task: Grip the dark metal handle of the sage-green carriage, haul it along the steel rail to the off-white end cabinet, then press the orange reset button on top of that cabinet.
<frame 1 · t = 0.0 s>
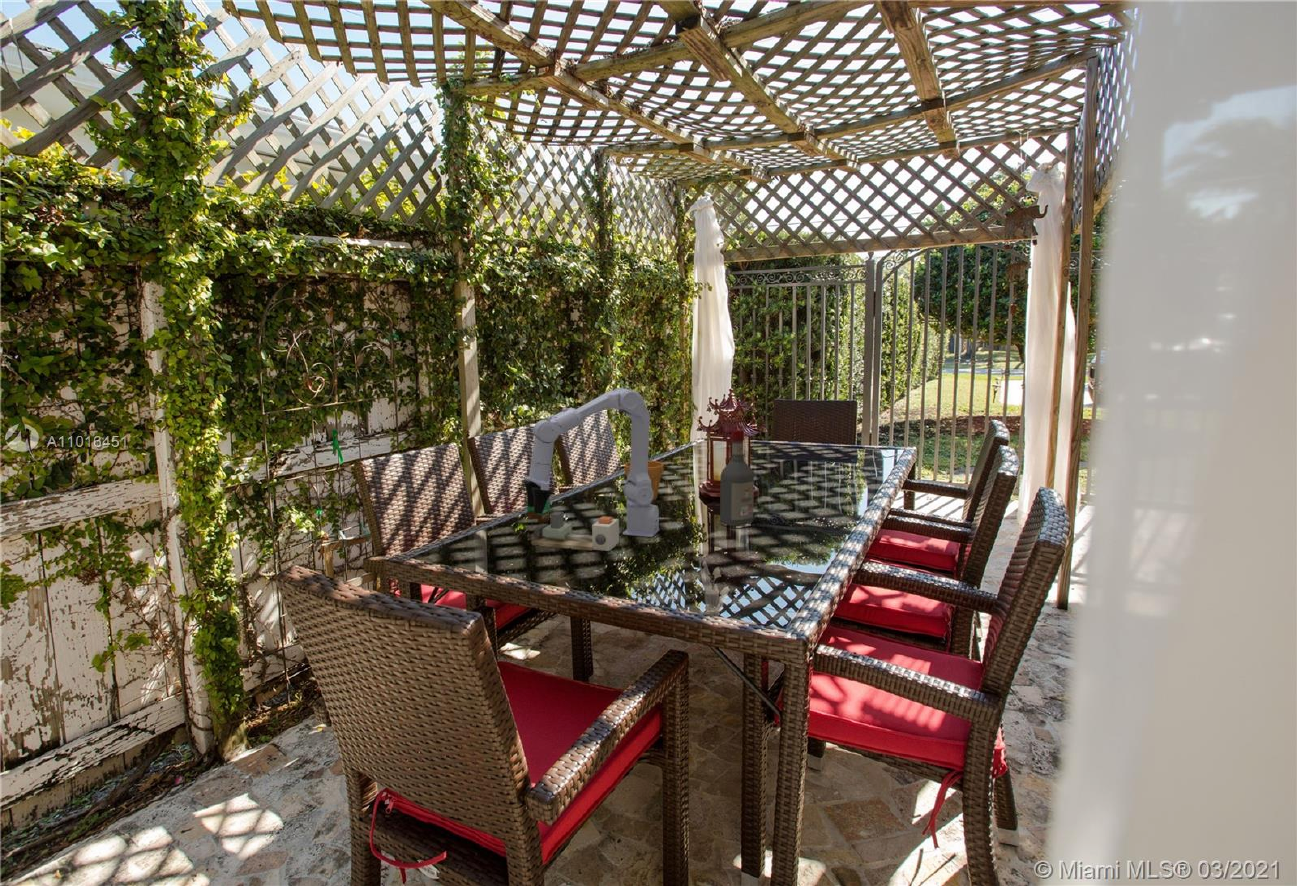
hand: (534, 510, 189), 11 cm above the table, tool pointing down, fingers open, 7 cm apart
rail bed: (576, 543, 193), on the table
reset button: (605, 521, 189), point 7 cm above the table, slide at 0.0 cm
end cabinet: (606, 545, 190), on the table
food container: (542, 521, 217), on the table
flower pot: (644, 499, 245), on the table
liquor: (736, 524, 211), on the table
carriage: (557, 524, 194), point 5 cm above the table, slide at 9.0 cm
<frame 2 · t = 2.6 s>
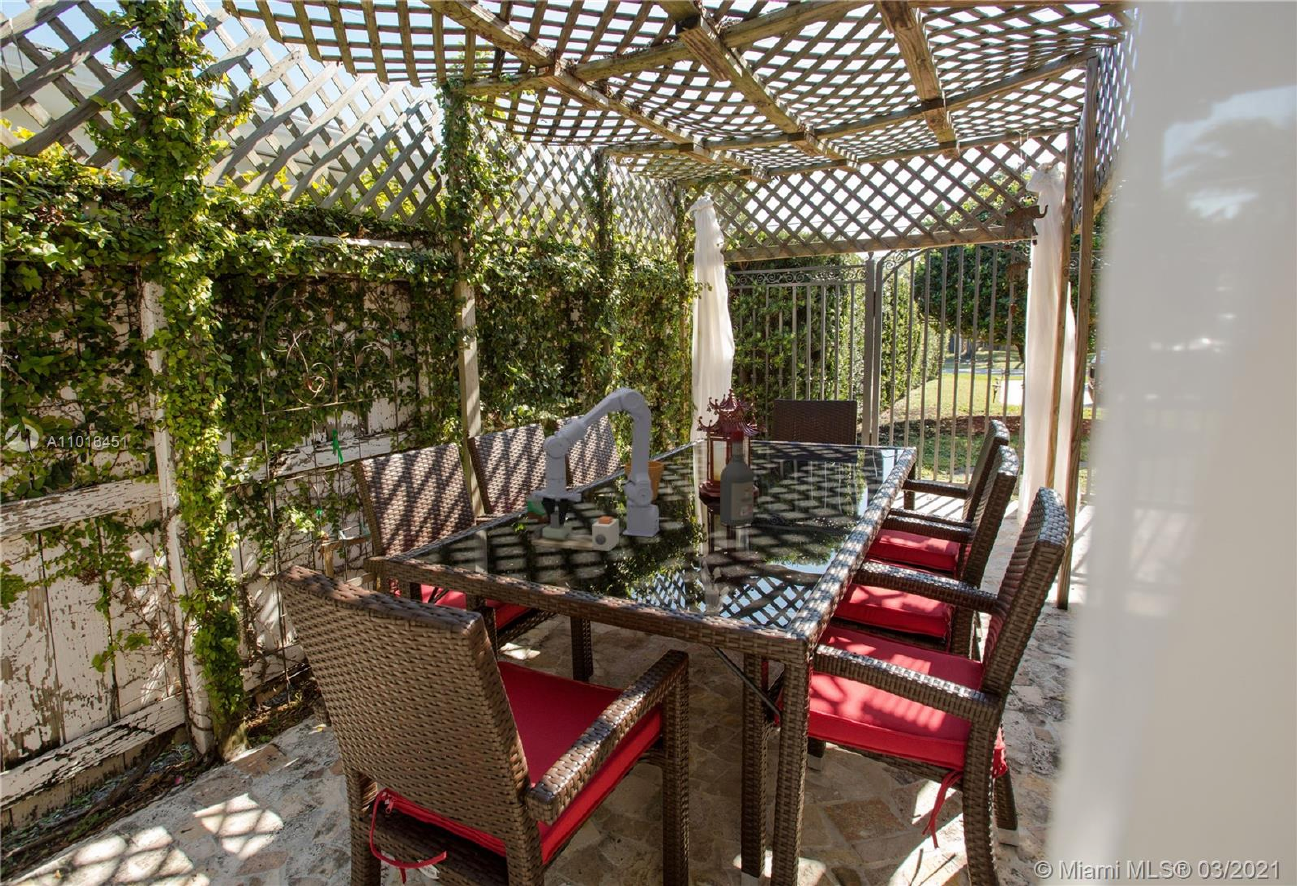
hand: (557, 523, 194), 5 cm above the table, tool pointing down, fingers closed on carriage, 2 cm apart
carriage: (557, 524, 194), point 5 cm above the table, slide at 9.0 cm, touching gripper
everything else where it was.
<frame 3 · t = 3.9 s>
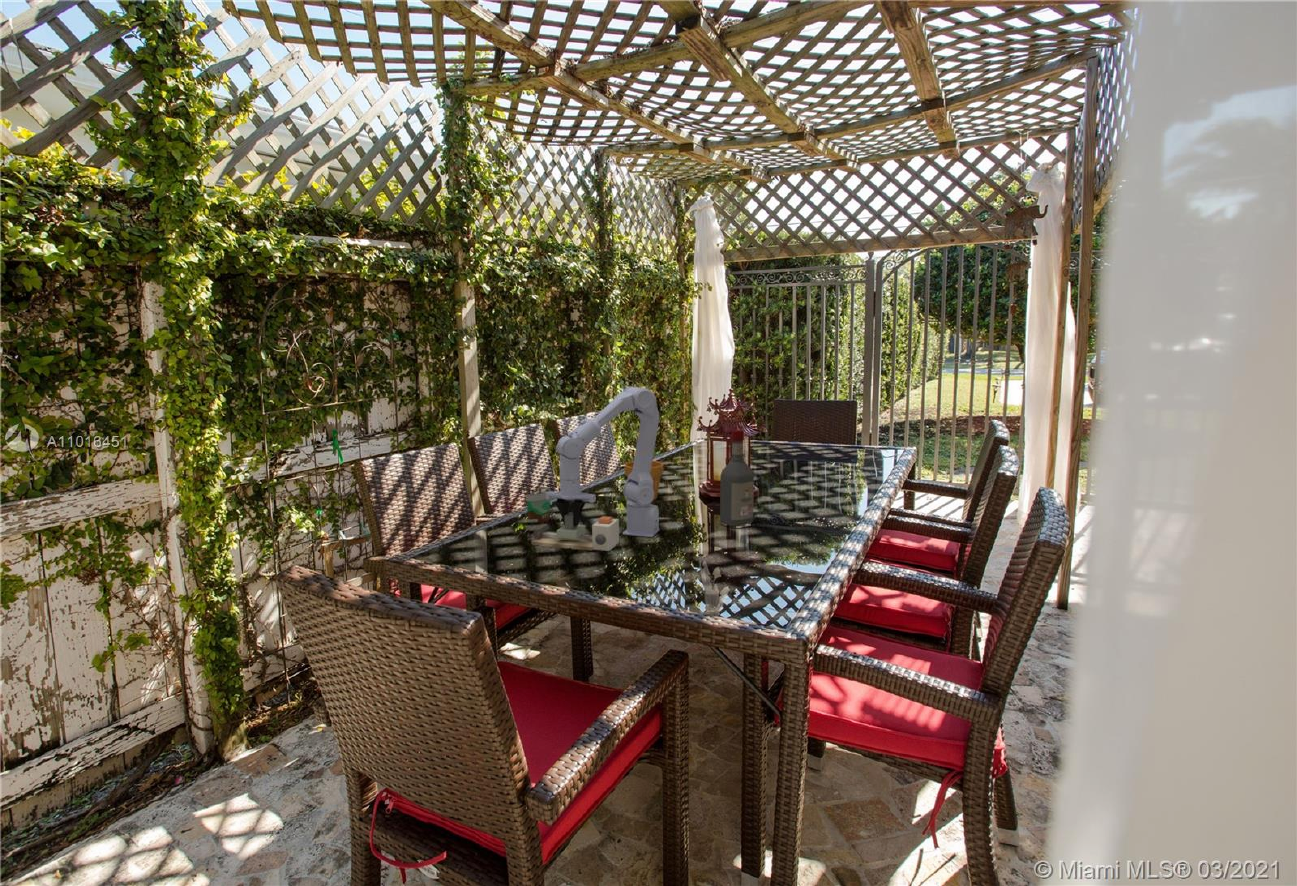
hand: (571, 524, 192), 5 cm above the table, tool pointing down, fingers closed on carriage, 2 cm apart
carriage: (571, 526, 192), point 5 cm above the table, slide at 4.6 cm, touching gripper
everything else where it was.
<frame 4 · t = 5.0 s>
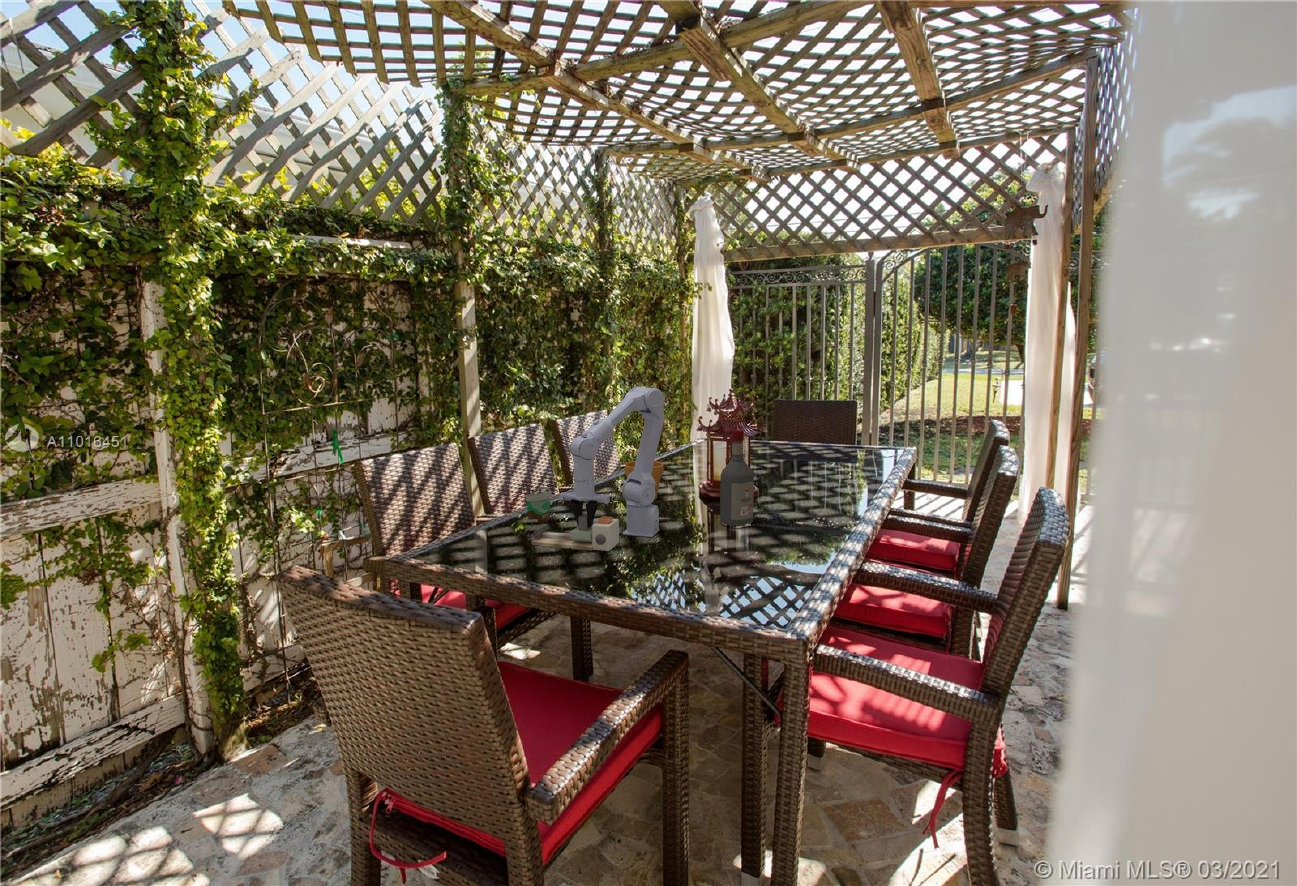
hand: (585, 525, 191), 5 cm above the table, tool pointing down, fingers closed on carriage, 2 cm apart
carriage: (585, 527, 191), point 5 cm above the table, slide at 0.3 cm, touching gripper
everything else where it was.
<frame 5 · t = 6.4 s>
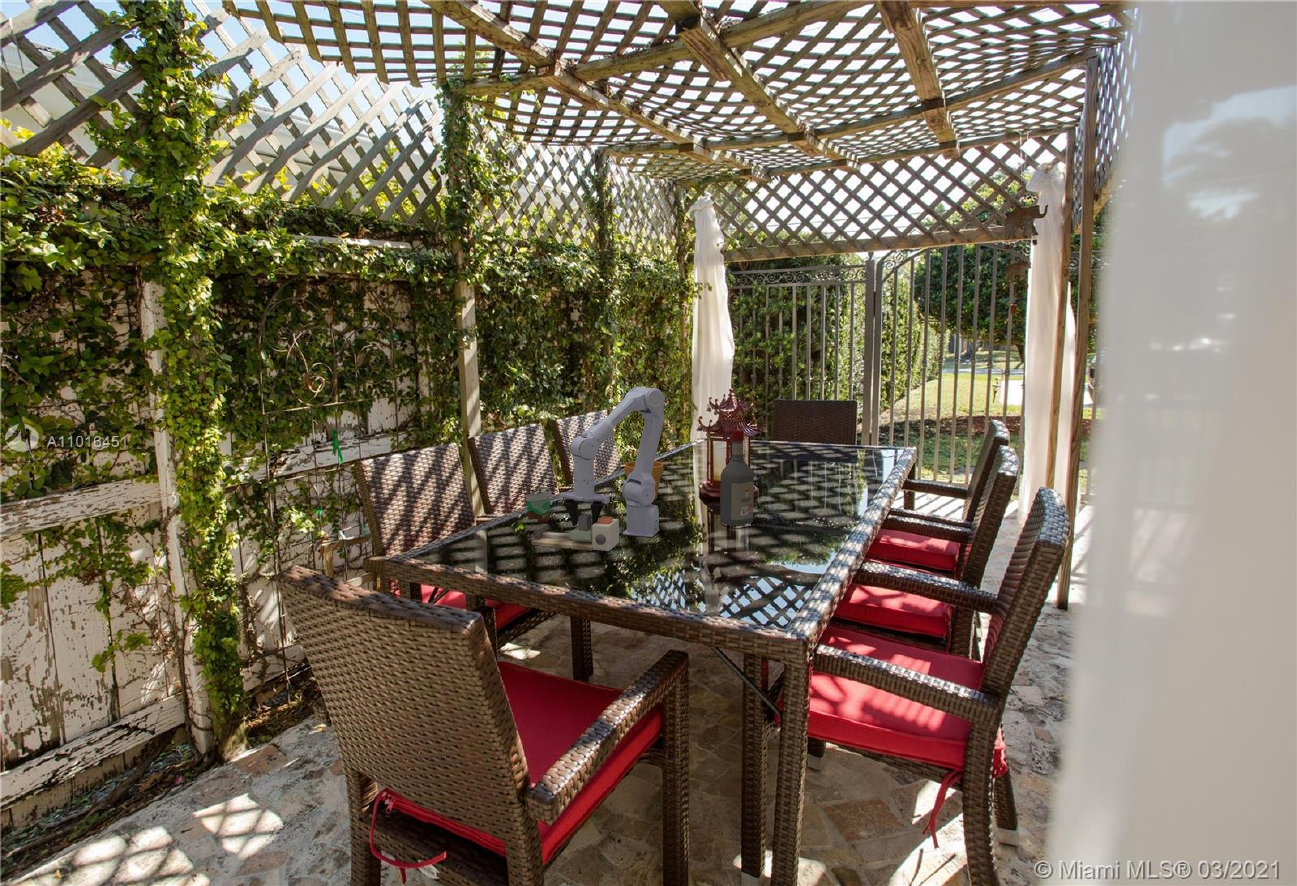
hand: (584, 525, 191), 5 cm above the table, tool pointing down, fingers open, 6 cm apart
carriage: (585, 527, 191), point 5 cm above the table, slide at 0.3 cm
everything else where it was.
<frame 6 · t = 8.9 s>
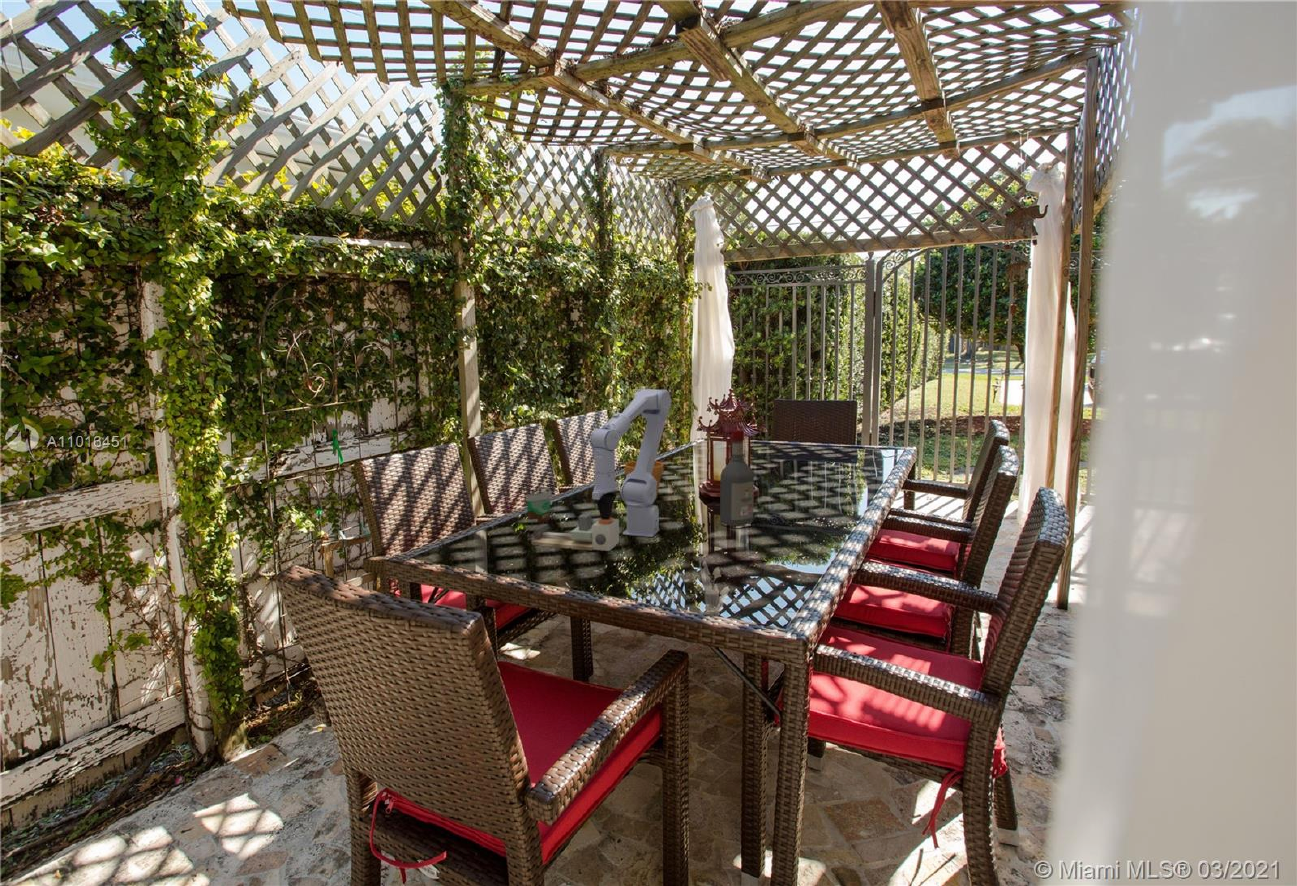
hand: (605, 518, 189), 8 cm above the table, tool pointing down, fingers closed, pressing on reset button
reset button: (605, 522, 189), point 7 cm above the table, slide at 0.2 cm, touching gripper
everything else where it was.
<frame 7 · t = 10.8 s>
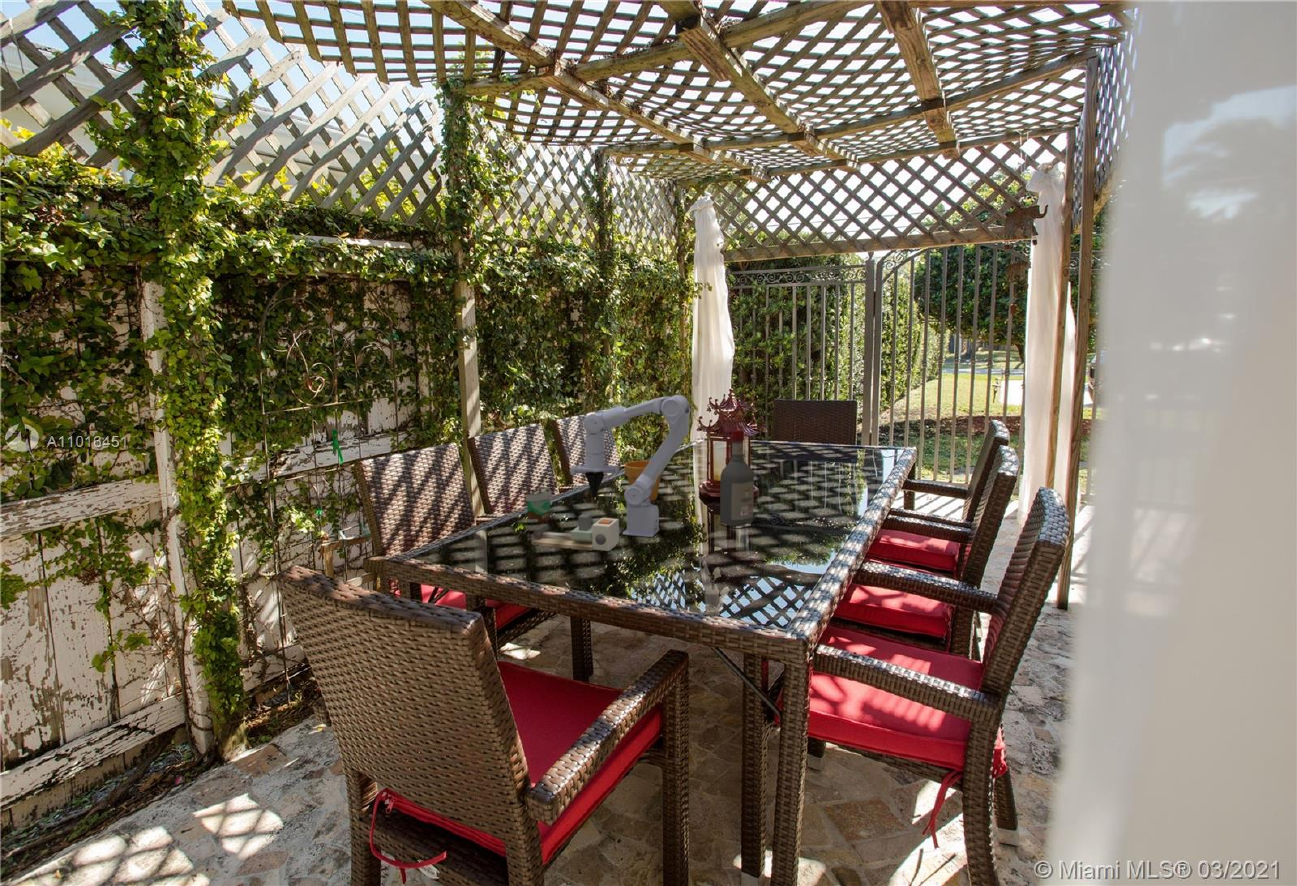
hand: (593, 496, 205), 10 cm above the table, tool pointing down, fingers closed
reset button: (605, 524, 189), point 6 cm above the table, slide at 0.8 cm
everything else where it was.
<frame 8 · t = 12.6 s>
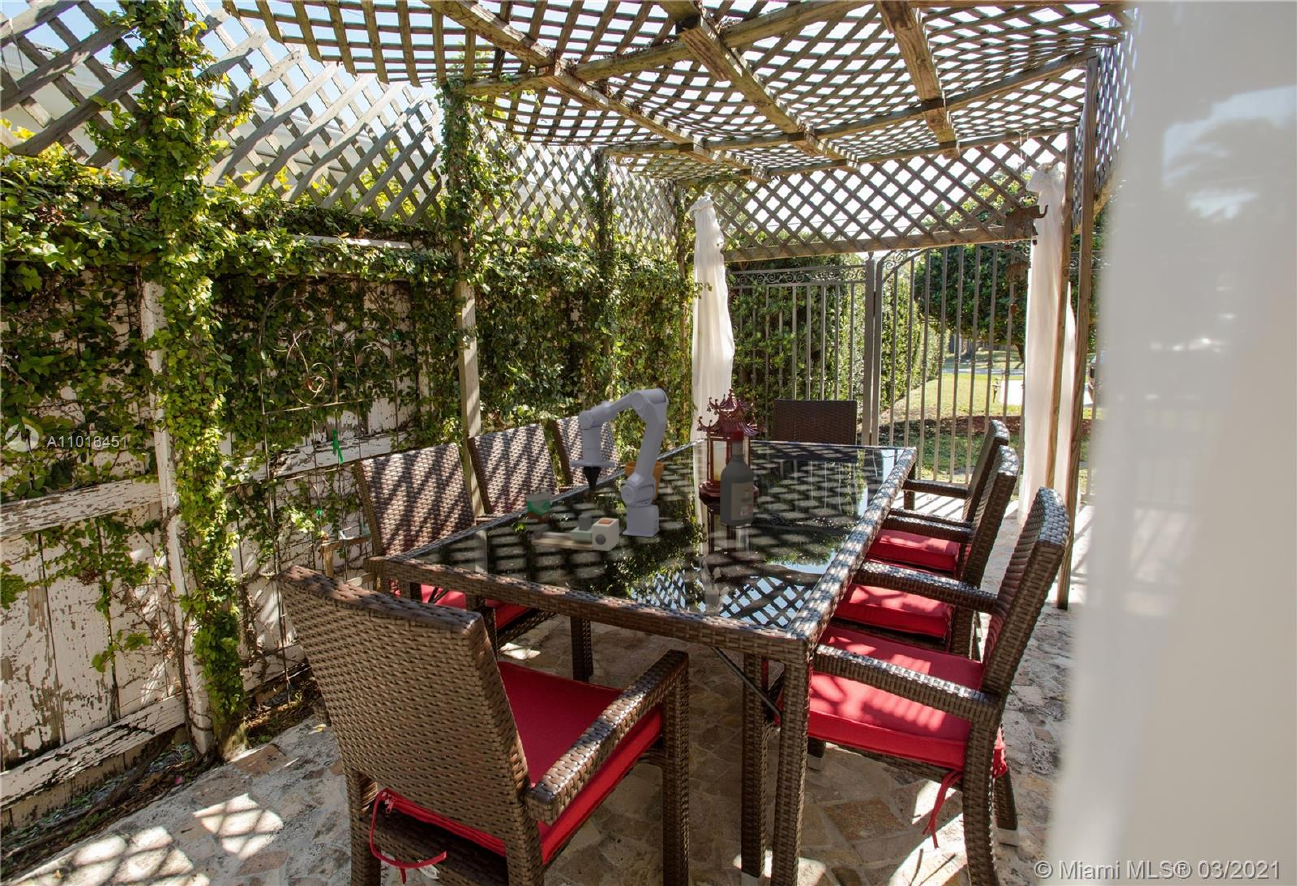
hand: (592, 489, 214), 10 cm above the table, tool pointing down, fingers closed
nothing on the table moved.
at the end: carriage slide at 0.3 cm; reset button slide at 0.8 cm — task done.
